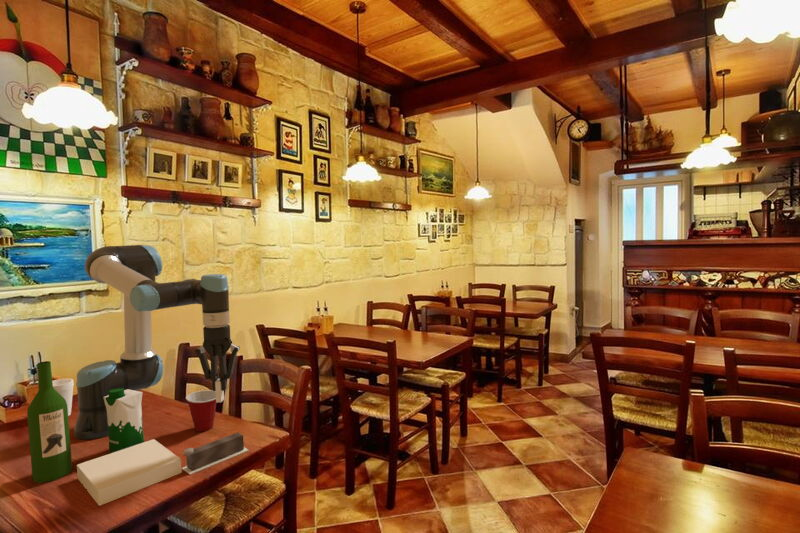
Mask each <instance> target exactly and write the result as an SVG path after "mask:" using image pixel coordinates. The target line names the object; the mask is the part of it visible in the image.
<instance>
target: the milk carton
mask: <svg viewBox="0 0 800 533" xmlns="http://www.w3.org/2000/svg"><path fill="white" fill-rule="evenodd" d="M103 398H104V402H105V406H106V410H107V419H108V433H109V435H108V452H109V454H111V453H114V452H117V451H120V450H123V449H126V448H129V447H132V446H135V445H138V444H141V443H144V442H145V435H144V434H145V433H144V427H143V426H144V425H143V411H142V400H143V391H141V390H137V391H135V390H129V389H127V390H124V388H116V389H112V390H110V391H109V395H108V396H105V397H103Z"/></svg>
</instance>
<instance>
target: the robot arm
mask: <svg viewBox="0 0 800 533" xmlns="http://www.w3.org/2000/svg"><path fill="white" fill-rule="evenodd" d="M84 269H85V272H86V274H87V276H89V278H91V279H92V281H95V282H97V283H98V284H99V283H100V284H106V285H109V286H111V287H112V288H114V289H115V290H117V291H119V292H120V293H122V294H123V315H124V316H123V318H124V324H123V326H124V351H123V352H122V353H121V354H120V359H119V360H120V361H119V362H116V361H115V360H111V359H110V360H109V359H108V360H107V359H106V360H103V361H101V360H100V361H97V362H94V363H90V364H88V365H86V366H84V367H82V368H81V369H79V370H78V372H77V373H76V383H75V386H76V391H77V404H78V415H77V417H76V418H77V419H76V421H75V425H74V428H73V435H74V438H76V439H78V440H94V439H98V438H104V437H107V436H108V437H109V433H108V419H107V410H106V406H105V402H104V398H103V397H105V396H108V395H109V391H110V390H112V389H116V388H124V390H127V389H129V390H135V391H141V390H144V389H145V390H146V389H148V388H150V387H154V386H155V385H157V384H159V382H160V381H161V380H162V378H163V374H164V362H163V359H162V357H161V356H160V355H159V354H157V351H156V350H155V349H153V348H152V347H153V346H152V341H153V340H152V338H153V337H152V312H153V311H157V310H164V309H168V308H175V307H183V306H189V305H201V310H202V311H201V312H202V325H203V326H204V327H203V328H202V330H203V332H202V333H203V334H202V335H203V342H202V345H201V346H200V347H197V348H195V350H194V353H195V354H196V355H197V356H198V360H199V361H200V366H201V368H202V372H203V376H204V379H205V380H209V381H211V384H212V385H211V386H212V390H213V391H216V404H217V403H222V402H224V400H225V392H224V391H226V390H227V388H228V386H227V380H229V379H230V378H231V377H233V374H234V369H235V364H236V361H237V355H238V352H239V351H240V348H241V347H240V345H238V346H237V345H235V344H234V343H233V341H232V339H231V325H230V322H231V320H230V299H229V283H228V277H227V275H225V273H224V274H223V273H219V274H217V273H213V274H212V273H210V274H203V275H201V277H200V279H196V278H191V279H189V278H188V279H184V280H182V281H179V280H178V281H172V282H171V281H169V282H161V283H160V282H158V281H157V282H156V277H158V276H160V275H161V273H162V271H163V262H162V257H161V255H160V253H159V251H158V250H157V249H156V247H154V246H152V245H148V244H147V245H145V244H132V245H131V244H129V245H128V244H127V245H106V246H102V247H100V248H97V249H95V250H94V251H92V252H91V253H90V254H88V256H87V257H86V260H85V263H84ZM228 351H230V355H229V360H228V366H227V353H228ZM206 352H207V353H208V355H209V360H210V362H209V361H208V356H207V354H206ZM218 363H219V364H218ZM218 367H219V369H218Z"/></svg>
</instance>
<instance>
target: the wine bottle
mask: <svg viewBox="0 0 800 533" xmlns="http://www.w3.org/2000/svg"><path fill="white" fill-rule="evenodd" d="M51 363H52V362H51V361H50V360H48V361H47V360H45V361H40V362H37V363H36V366H37V383H38V391H37V393H36V394H35V396H34V397H33V399H32V401H31V402H30V404H29V405H28V408H27V412H26V415H27V417H26V418H27V427H28V428H27V429H28V438H29V440H28V442H29V452H30V465H31V476H32V480H33V482H35V483H38V484H42V483H44V484H45V483H47V482H48V483H49V482H53V481H56V480H60V479H61V477H62V478H64V477H66V476H67V475H68V474H70V473H71V472H72V469H73V462H72V450H71V437H70V424H69V423H70V422H69V416H68V408H67V403H66V400H65V399H64V398H63V397H62V396H61V395H60V394H59V393H58V392H57V391H56V390H55V389H54V388H53V382H52V381H53V375H52V364H51ZM65 475H66V476H65ZM63 476H64V477H63Z"/></svg>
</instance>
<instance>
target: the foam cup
mask: <svg viewBox="0 0 800 533" xmlns="http://www.w3.org/2000/svg"><path fill="white" fill-rule="evenodd" d="M52 382H53V388H54V389H55V390H56V391H57V392H58V393H59V394H60V395H61V396H62V397H63V398H64V399H65V400H66V403H67V408H68V417H70V416H71V414H72V409H73V408H72V406H73V395H74V394H73V393H74V386H75V382H74V379H73V378H59V379H55V380H52Z"/></svg>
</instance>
